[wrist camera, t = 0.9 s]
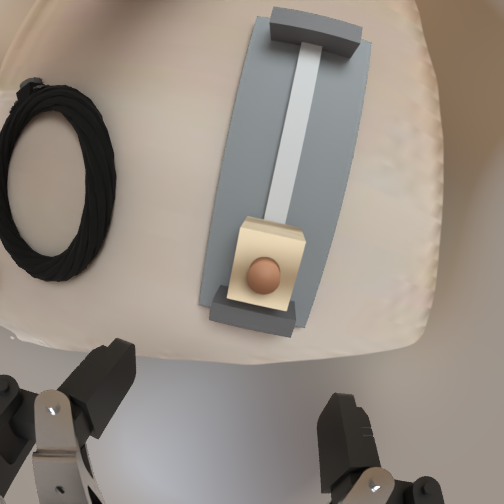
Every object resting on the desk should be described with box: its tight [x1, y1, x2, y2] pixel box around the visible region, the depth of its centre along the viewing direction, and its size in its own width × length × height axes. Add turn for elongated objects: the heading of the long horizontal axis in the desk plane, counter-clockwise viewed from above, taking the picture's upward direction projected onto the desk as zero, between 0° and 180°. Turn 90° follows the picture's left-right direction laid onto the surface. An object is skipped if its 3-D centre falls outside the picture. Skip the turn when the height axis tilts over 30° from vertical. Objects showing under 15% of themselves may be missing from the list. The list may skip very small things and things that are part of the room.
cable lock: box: [0, 77, 116, 282], centre depth 28 cm, size 28×4×30 cm
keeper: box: [227, 216, 306, 311], centre depth 23 cm, size 6×5×7 cm
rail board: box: [199, 7, 372, 338], centre depth 24 cm, size 32×12×6 cm, turn 168°
